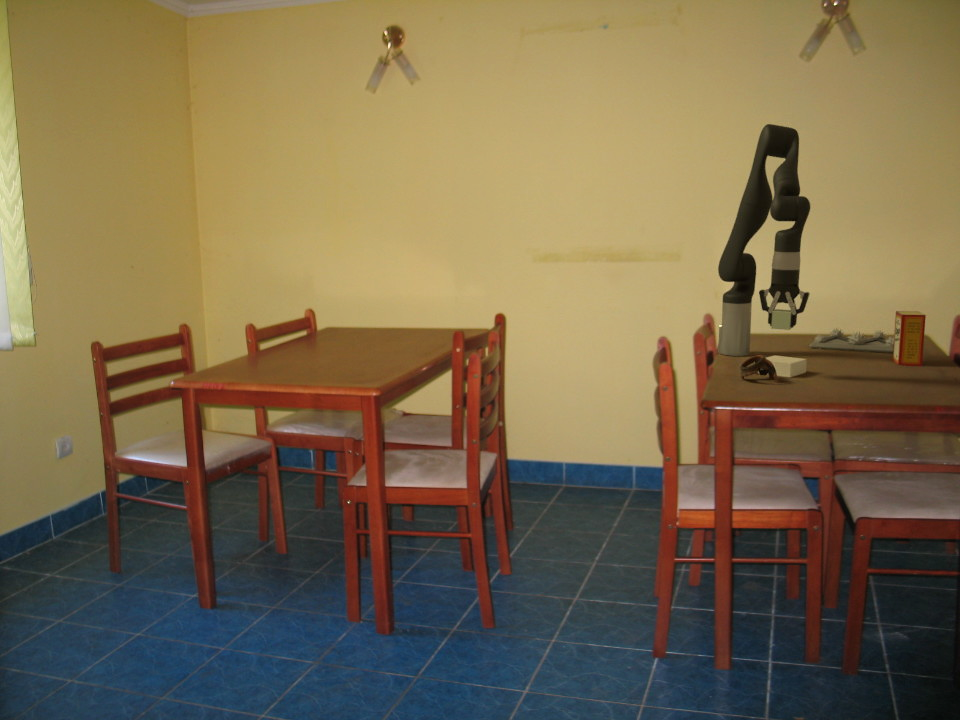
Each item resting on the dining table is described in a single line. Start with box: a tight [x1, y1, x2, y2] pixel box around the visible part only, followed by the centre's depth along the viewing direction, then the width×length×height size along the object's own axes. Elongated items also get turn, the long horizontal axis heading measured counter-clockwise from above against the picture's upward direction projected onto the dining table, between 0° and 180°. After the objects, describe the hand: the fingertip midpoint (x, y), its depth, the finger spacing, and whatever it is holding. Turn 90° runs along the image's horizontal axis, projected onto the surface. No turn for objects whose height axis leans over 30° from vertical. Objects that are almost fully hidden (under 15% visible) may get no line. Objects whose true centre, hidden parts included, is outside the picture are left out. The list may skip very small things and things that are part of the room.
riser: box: [758, 355, 807, 378], centre depth 263 cm, size 10×10×4 cm
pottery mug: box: [739, 354, 779, 383], centre depth 253 cm, size 12×9×8 cm
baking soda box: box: [892, 310, 927, 367], centre depth 275 cm, size 10×6×16 cm
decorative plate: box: [808, 327, 894, 354], centre depth 308 cm, size 30×22×7 cm
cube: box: [770, 308, 792, 331], centre depth 257 cm, size 5×5×5 cm
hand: (781, 326), depth 258 cm, fingers closed on cube, 5 cm apart
